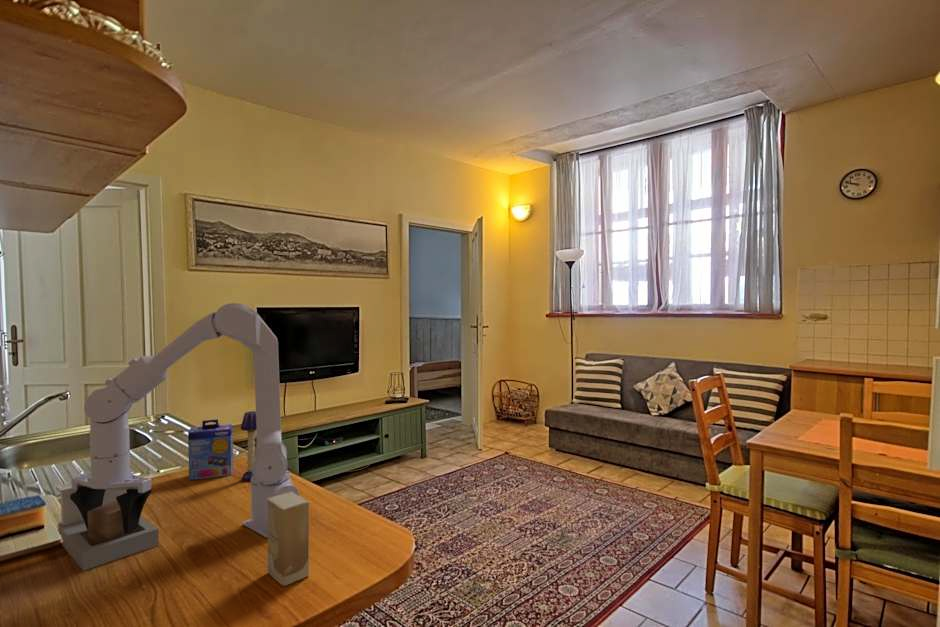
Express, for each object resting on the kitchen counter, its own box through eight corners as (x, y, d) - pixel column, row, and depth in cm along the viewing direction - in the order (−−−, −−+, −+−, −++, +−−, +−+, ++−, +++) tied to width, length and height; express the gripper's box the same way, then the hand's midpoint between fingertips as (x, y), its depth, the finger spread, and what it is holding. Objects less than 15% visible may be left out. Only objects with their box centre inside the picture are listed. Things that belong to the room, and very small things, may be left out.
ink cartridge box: (188, 481, 123) (186, 423, 123) (191, 474, 129) (189, 418, 128) (232, 475, 127) (231, 418, 127) (233, 469, 132) (232, 414, 132)
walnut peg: (136, 541, 91) (135, 503, 91) (109, 554, 87) (108, 514, 87) (116, 537, 93) (115, 500, 93) (88, 550, 88) (87, 511, 88)
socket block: (158, 545, 90) (157, 490, 90) (83, 570, 82) (81, 510, 82) (126, 519, 102) (125, 470, 101) (57, 539, 93) (56, 486, 93)
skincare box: (266, 572, 81) (265, 497, 81) (292, 562, 84) (291, 490, 84) (284, 588, 76) (282, 508, 76) (310, 577, 79) (309, 500, 79)
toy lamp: (265, 475, 127) (264, 410, 126) (256, 482, 122) (254, 414, 122) (247, 475, 127) (246, 410, 127) (237, 482, 123) (236, 414, 122)
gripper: (163, 448, 92) (165, 522, 92) (95, 446, 95) (97, 517, 95) (132, 460, 85) (133, 540, 86) (59, 457, 88) (61, 534, 88)
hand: (112, 529), depth 90 cm, fingers open, 7 cm apart
